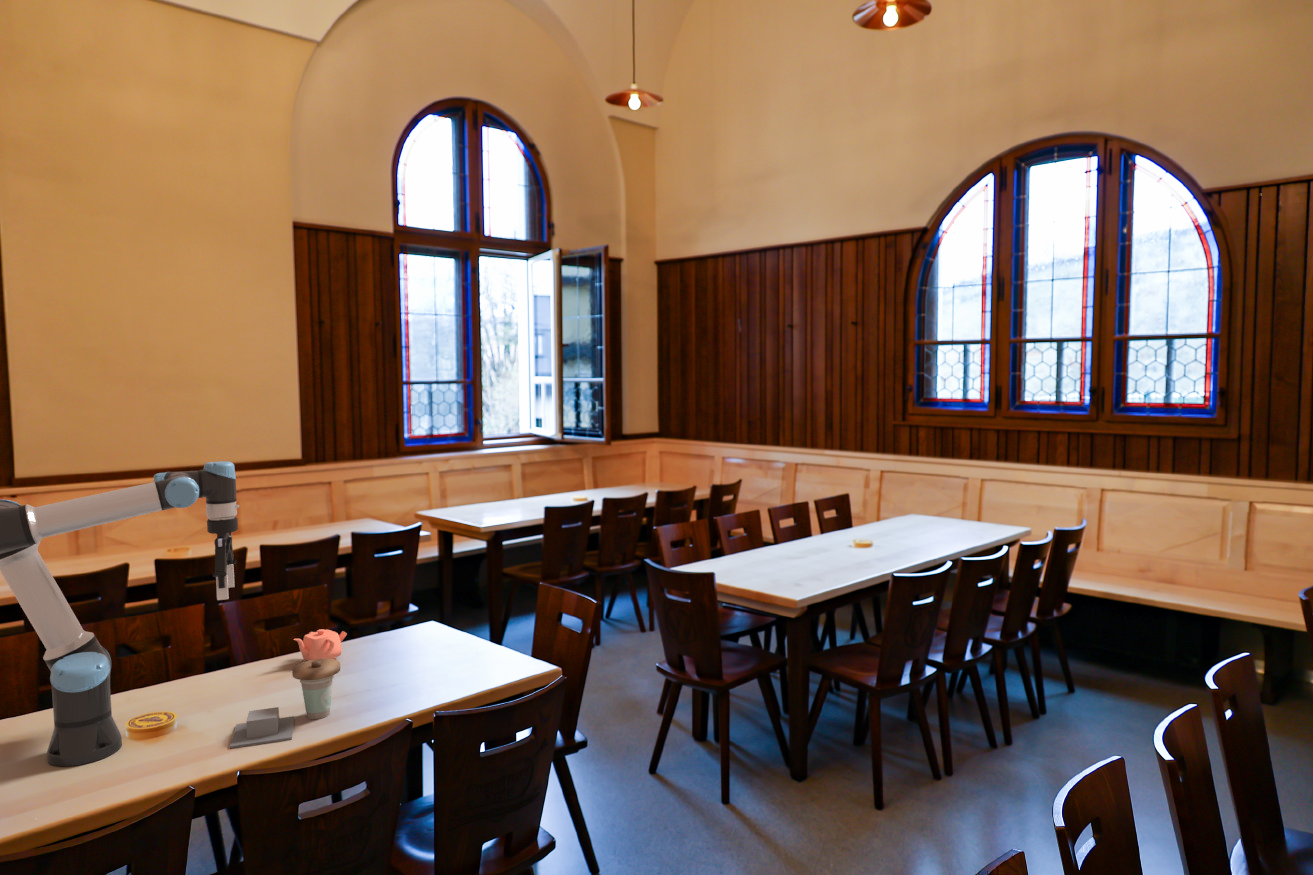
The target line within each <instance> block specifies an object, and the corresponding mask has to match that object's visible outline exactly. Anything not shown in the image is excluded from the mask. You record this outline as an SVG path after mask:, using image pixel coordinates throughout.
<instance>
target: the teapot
mask: <svg viewBox="0 0 1313 875" xmlns="http://www.w3.org/2000/svg"><path fill="white" fill-rule="evenodd" d="M347 635H348V633H347V632H345V631H344V630H343V631H341V632H340V634H339V633H338V632H336V631H333V630H330V629H318V630H316V631H310V632H308V633H307V634H305V635H304V636H303V640H302V639H301V638H294V639H293V640H294V641H296V642H297V644H298V646H299V647H298V648H299V651H300V653H301V656H302V658H303V659H304V660H305V661H309V660H314V659H335V660H338V659H337V657H340V656H341V654H342V652H343V651H342V649H343V648H342V642H343V640H344V639H345V638H346V636H347Z"/></svg>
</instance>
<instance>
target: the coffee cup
mask: <svg viewBox="0 0 1313 875" xmlns="http://www.w3.org/2000/svg"><path fill="white" fill-rule="evenodd" d="M334 678H335V675H333V676H330V677H327V678H323V679H317V680H299V683H300V685H301V690H302V696H303V701H304V702H303V703H304V707H305V708H304V709H305V713H306V714H305V715H306V718H307V719H310V720H320V719H323V718H326V717H328V716H329V715H330V714H331V705H332V694H333V692H332V691H333V682H334V681H333V680H334Z"/></svg>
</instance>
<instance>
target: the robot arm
mask: <svg viewBox="0 0 1313 875" xmlns="http://www.w3.org/2000/svg"><path fill="white" fill-rule="evenodd" d="M203 465H204V466H203V469H199V470H189V471H187V470H186V471H166V472H159V473H156V474H154V475H153V482H148V483H143V484H139V485H134V486H129V487H125V488H119V489H116V490H110V491H106V492H102V493H101V492H100V493H97V494H92V495H87V496H82V497H77V498H72V499H69V500H63V501H59V502H53V503H49V504H44V505H40V506H33V505H30V504H29V503H28V504H23V505H21V504H19V503H18V502H15V501H13V500H9V499H0V574H1V575H2V576H3V578H4V580H5V582H6V583H7V585H8V587H9V589H10V590H11V592H12V593H13V595H14V597H15V599H16V601H17V602H18V603H19V605H20V608H22V611H23V612H24V614H25V616H26V617H27V619H28V621H29V622H30V624H31V626H32V627H33V629H34V631H35V633H36V634H37V635H38V637H39V640H40V641H41V642H42V644H43V645H44V648H45V649H46V651H45V652H44V655H43V656H42V658H43V660H44V662H45V664H46V667H48V669H49V671H50V676H49V681H50V684H51V693H52V694H51V696H52V697H51V699H52V709H53V710H52V711H53V713H52V714H53V724H54V725H53V726H54V728H53V730H52V735H51V738H50V741H49V745H48V747H47V751H46V757H47V758H46V759H47V763H48V764H50V765H51V766H55V767H73V766H81V765H84V764H85V765H86V764H89V763H93V762H96V761H99V760H102V759H105V758H107V757H109V756H111V755H114V754H115V753H116V752H118V751H119V750H120V749H121V748H122V746H123V741H122V740H123V738H122V734H121V731H120V730H119V727H118V726H117V724H116V722H115V720H114V717H113V716H112V715H113V713H112V699H111V698H112V697H111V671H112V670H111V669H112V659H111V655H110V653H109V652H108V650H107V649H105V647H103V646H102V645H101V643H100V642H99V640H98V639H97V637H96V634H94V632H92V631H91V632H90V631H86V630H84V628H83V627H82V625H81V624H80V621H79V620H78V618H77V616H76V614H75V613H74V611H73V609H72V608H71V606H70V604H69V603H68V601H67V598H66V597H65V595H64V593H63V591H62V590H61V588H60V587H59V585H58V584H57V582H56V580H55V578H54V577H53V575H52V573H51V571H50V570H49V568H48V566H47V564H46V562H45V561H44V559H43V557H42V555H41V554H40V552H39V546H40V545H41V541H42V540H43V539H44V538H49V537H54V536H58V535H63V534H67V533H71V532H75V531H79V530H83V529H88V528H92V527H95V526H96V527H97V526H101V525H105V524H109V523H114V522H119V521H121V520H122V521H123V520H126V519H127V520H128V519H131V518H134V517H135V518H136V517H140V516H143V515H149V514H153V513H156V512H161V511H168V510H171V509H175V508H176V509H183V508H184V509H185V508H189V507H191V506H192V505H194V504H195V503H196V502H197V500H198V499H201V498H202V499H203V498H205V512H206V513H205V515H206V518H208V519H207V520H206V527H207V528H206V529H207V530H206V531H207V533H208V534H212V535H213V534H214V535H215V534H216V538H215V539H214V543H213V544H214V573H212V577H213V578H215V584H216V600H217V601H223V600H224V601H225V600H229V598H230V597H229V589H230V588H235V572H234V571H235V570H234V564H237V559H235V555H234V549H233V536H232V533H234V532H237V531H238V530H239V522H238V520H239V519H238V517H237V515H238V509H239V508H240V504H237V477H236V470H235V468H236V467H235V464H234V463H233V462H231V461H227V460H226V461H225V460H223V461H222V460H221V461H210V462H205V463H204V464H203Z"/></svg>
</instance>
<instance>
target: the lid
mask: <svg viewBox="0 0 1313 875" xmlns="http://www.w3.org/2000/svg"><path fill="white" fill-rule="evenodd" d="M291 670H292V671H291V674H292V676H291V677H292V678H293V679H295V680H299V681H300V680H317V679H323V678H327V677H330V676H333V675H334V676H335V675H337V674H338V673H339V672H340V671H341V662H340V661H339V660H338V659H337V660H335V659H314V660H309V661H308V660H305V661H303V662H300V663H297V664H295V665H294V666H293V667H292V669H291Z"/></svg>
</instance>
